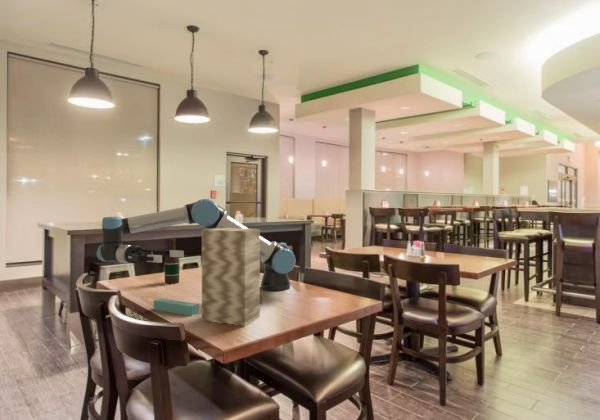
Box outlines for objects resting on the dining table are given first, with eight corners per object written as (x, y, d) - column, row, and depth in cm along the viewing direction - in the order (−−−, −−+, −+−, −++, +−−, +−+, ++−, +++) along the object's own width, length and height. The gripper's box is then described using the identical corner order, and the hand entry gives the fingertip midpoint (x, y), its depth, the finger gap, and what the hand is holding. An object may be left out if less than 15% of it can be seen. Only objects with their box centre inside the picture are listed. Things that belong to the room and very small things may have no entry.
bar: (153, 310, 159) (153, 300, 158) (161, 307, 162) (160, 298, 162) (191, 316, 150) (191, 306, 150) (198, 313, 154) (198, 304, 154)
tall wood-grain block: (202, 320, 144) (201, 229, 143) (219, 312, 155) (219, 227, 154) (245, 326, 138) (245, 231, 137) (259, 316, 149) (259, 229, 148)
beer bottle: (174, 284, 205) (174, 239, 204) (161, 283, 206) (161, 239, 206) (182, 281, 212) (182, 238, 212) (169, 280, 214) (169, 237, 213)
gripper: (151, 258, 174) (191, 260, 166) (106, 268, 150) (151, 271, 143) (151, 242, 173) (191, 243, 166) (106, 249, 150) (150, 251, 143)
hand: (172, 256), depth 155 cm, fingers open, 13 cm apart
